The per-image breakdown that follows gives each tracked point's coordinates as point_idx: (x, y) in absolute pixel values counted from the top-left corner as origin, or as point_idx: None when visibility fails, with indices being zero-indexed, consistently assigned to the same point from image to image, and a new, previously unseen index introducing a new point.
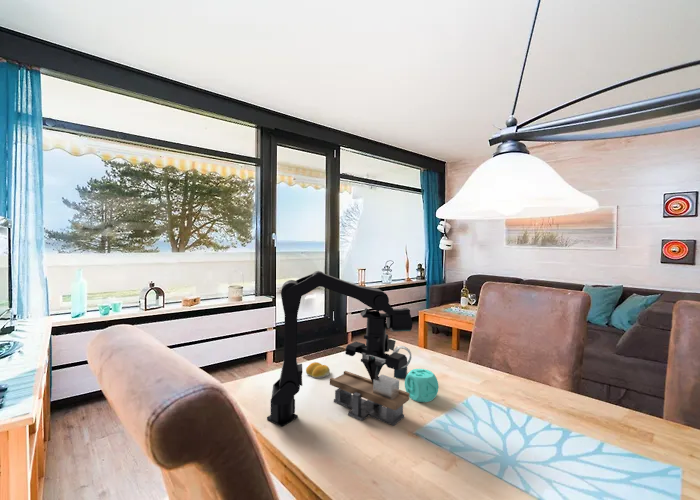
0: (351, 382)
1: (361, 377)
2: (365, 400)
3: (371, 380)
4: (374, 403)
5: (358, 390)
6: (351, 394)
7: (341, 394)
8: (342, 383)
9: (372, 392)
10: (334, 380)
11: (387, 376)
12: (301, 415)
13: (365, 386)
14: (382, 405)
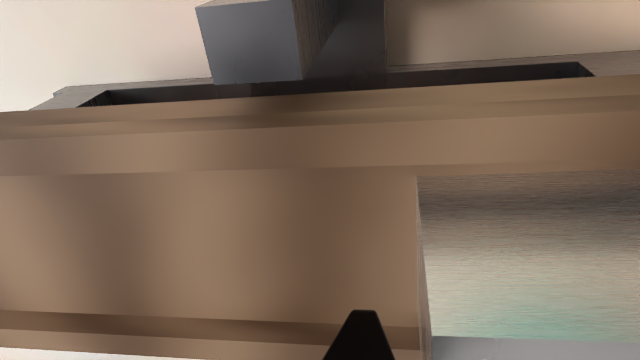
0: (99, 254)
1: (70, 164)
2: (242, 86)
3: (208, 148)
4: (329, 77)
5: (286, 355)
6: (103, 92)
7: None
8: (110, 352)
9: (389, 290)
10: (29, 346)
11: (587, 347)
12: (156, 357)
13: (248, 238)
14: (385, 25)
